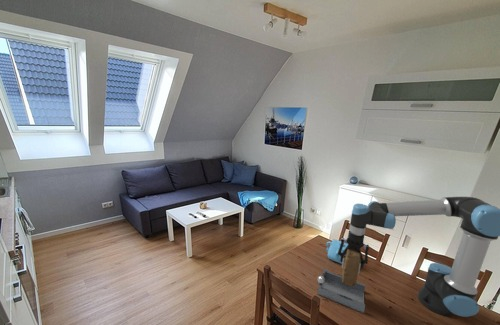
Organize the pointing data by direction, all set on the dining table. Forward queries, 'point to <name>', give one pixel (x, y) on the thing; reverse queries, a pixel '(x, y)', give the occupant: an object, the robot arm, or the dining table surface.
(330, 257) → the teapot
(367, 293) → the dining table surface
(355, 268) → the brown blocky piece
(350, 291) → the dock
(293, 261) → the dining table surface
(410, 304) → the dining table surface
